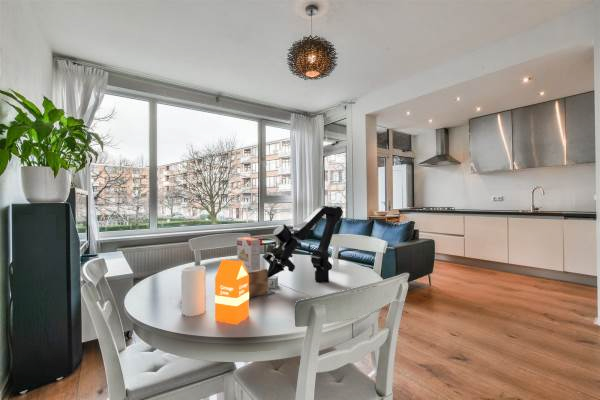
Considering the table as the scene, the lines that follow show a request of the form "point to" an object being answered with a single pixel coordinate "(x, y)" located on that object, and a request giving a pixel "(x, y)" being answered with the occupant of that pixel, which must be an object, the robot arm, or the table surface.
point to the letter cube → (273, 282)
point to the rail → (263, 295)
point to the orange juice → (231, 292)
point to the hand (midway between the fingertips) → (266, 277)
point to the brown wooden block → (258, 282)
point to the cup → (193, 290)
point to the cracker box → (249, 253)
